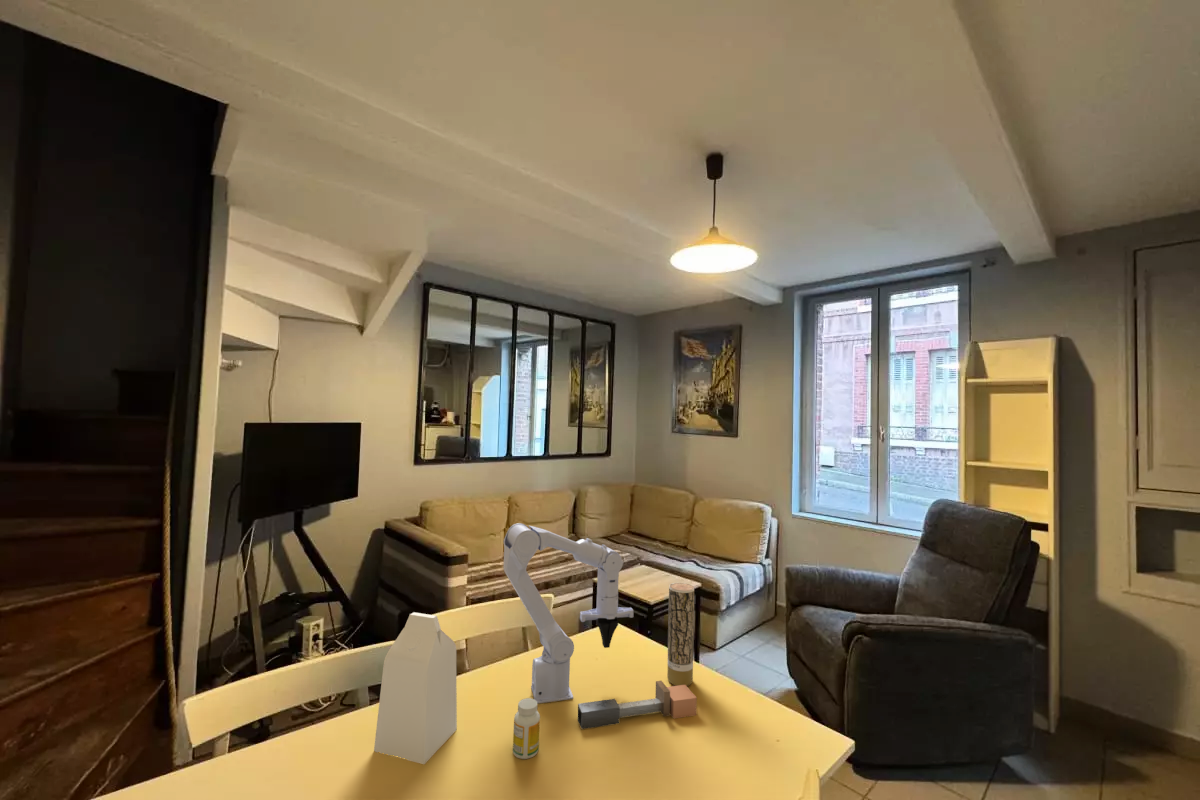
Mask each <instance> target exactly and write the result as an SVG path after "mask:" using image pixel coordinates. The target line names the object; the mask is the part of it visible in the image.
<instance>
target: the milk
mask: <svg viewBox="0 0 1200 800" xmlns="http://www.w3.org/2000/svg"><path fill="white" fill-rule="evenodd" d="M382 667H383V668H382V677H381V686H380V694H379V701H378V702H379V703H378V710H377V711H378V712H377V713H378V714H377V721H376V730H375V737H374V748H373V752H374V751H375V752H374V753H378V752H380V753H379V754H382V753H384V754H383V755H385V754H388V755H387V756H389V755H394V756H398V757H401V758H405V759H407V760H406V761H410V762H414V763H417V764H422V765H425V764H426V763H427V762H428V761H429V760H430V759H431V758H432V757H433V755H435V754H436V753H437V751H438V750H440V749H441V747H442V746H443V745H444V744H445V743H446V742H447V740H449V739H450V737H451V736H452V735H453V734H454V733H456V731H457V729H458V728H457V727H458V725H457V722H458V720H457V717H458V715H457V711H458V709H457V707H458V706H457V703H458V702H457V700H458V699H457V646H456V643H455V641H454V640H453V639H452V638H451V637H450V636H448V634H447V633H446V632H444V631H443V630H442V628H441V624H440V621H439V619H438V616H437V615H433V614H428V613H427V614H426V613H421V612H415V611H413V612H412V613H409V616H408V618H407V620H406V623H405V625H404V627H403V628H402V630H401V631H400V633H399V634H398V636H397V638H395V640H394V642H393V643H392V645H391V647H390V648H389V650H388V651H387V653H386V655H385V657H384V661H383V666H382ZM401 758H400V759H401ZM405 759H404V760H405Z"/></svg>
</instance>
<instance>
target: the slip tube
mask: <svg viewBox="0 0 1200 800" xmlns="http://www.w3.org/2000/svg"><path fill="white" fill-rule="evenodd" d="M667 687H668V686H666V685H665V683H664V681H663V680H655V696H654V697H655V698H649V699H642V700H636V701H635V700H634V701H630V702H629V701H628V702H621V703H618V705H619V707H620V718H619V719H621V718H627V717H632V716H633V717H634V716H639V715H640V716H641V715H645V714H646V715H647V714H654V713H661V714H662V717H669V716H671V715H670V710H671V700H670V691H669V689H668V688H667Z"/></svg>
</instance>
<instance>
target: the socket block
mask: <svg viewBox="0 0 1200 800" xmlns="http://www.w3.org/2000/svg"><path fill="white" fill-rule="evenodd" d="M666 687H667V688H668V689H669V691H670V700H671V710H670V716H671V718H672V719H674V720H675V719H678V718H685V717H686V716H687V717H692V716H697V708H698V707H697V706H698V705H697V702H698V701H697V696H696V695H695V694H694V693H693V691H691V689H690V688H689V687H688V686H686V685H678V686H676V685H673V686H666Z"/></svg>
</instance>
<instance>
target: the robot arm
mask: <svg viewBox="0 0 1200 800" xmlns="http://www.w3.org/2000/svg"><path fill="white" fill-rule="evenodd" d="M503 547H504V548H503V549H504V552H503V571H504V574H505V575H506V576H507V578H508V580H509V581H510V584H511V585H512V587H513V589H514V590H515V592H516V594H517V596H518V597H519V599H520V601H521V602H522V605H523V606H524V608H525V610H526V611H527V614H528V615H529V617H530V618H531V620H532V622H533V623H534V624H535V626H536V629H537V632H538V635H539V642H540V644H541V645H542V646H543V650H542V654H541V655H540V656H539V657H535V658H533V660H532V667H531V668H532V669H531V670H532V671H531V685H530V687H531V688H530V689H531V692H532V696H533V699H535V700H536V701H537V705H539V704H545V703H551V702H558V701H566V700H567V701H568V700H572V699H574V695H573V692H572V690H571V687H570V671H571V670H570V669H571V667H570V666H571V663H570V662H571V657H572V656H573V653H574V651H575V644H574V641H573V640H572V639H571V637H569V636H568V635H567V634H566V632H565V631H564V630H563V629H562V627H561V626H560V625H559V624H558V622H557V621H556V620H555V618H554V616H553V614H552V612H551V611H550V609H549V608H548V606H547V604H546V603H545V601H544V599H543V597H542V595H541V593H540V592H539V590H538V588H537V587H536V585H535V583H534V581H533V580H532V577H531V576H530V574H529V573H528V571H527V567H528V565H529V563H530V561H531V560H532V559H533V557H534V555H535V554H536V552H537V551H538V550H539V551H540V552H542V551H543V550H544V549H547V548H552V549H555V550H558V551H561V552H565V553H568V554H572V556H573V559H574V560H575V561H576V562H579V563H582V564H585V565H587V566H591V567H593V568H597V577H596V578H597V582H596V586H597V587H596V608H591V609H588V610H584V611H582V610H581V611H580V612H579V620H580V622H581V623H584V622H586V621H596V624H597V627H598V629H599V632H600V637H601V643H602V646H603V648H604V649H607V648H609V649H610V646H611V642H612V640H613V639H612V638H613V637H614V636H613V635H614V633H615V631H616V629H617V628H618V626H619V620H618V618H630V619H631V618H634V609H633V608H632V607H622V606H621V607H620V606H619V579H620V578H619V576H620V575H619V573H620V571H621V569H622V568H623V565H624V561H623V560H622V559H623V558H622V556H621V554H620V553H619V552H618V551H616V550H614V549H612V548H610V547H608V546H607V545H606V544H603V543H602V544H598V543H595V542H593V540H592V539H591V538H589V537H586V538H580V539H578V540H577V541H575V540H572V539H569V538H567V537H565V536H562V535H559V534H557V533H554V532H552V531H550V530H547V529H545V528H544V529H543V528H541V527H537V526H534V525H533V526H532V525H528V526H527V525H526V524H524V523H520V522H518V523H514V524H512V525H511V526H510V527H509V528H508V529H507V532H506V533H505V536H504V538H503Z"/></svg>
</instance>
